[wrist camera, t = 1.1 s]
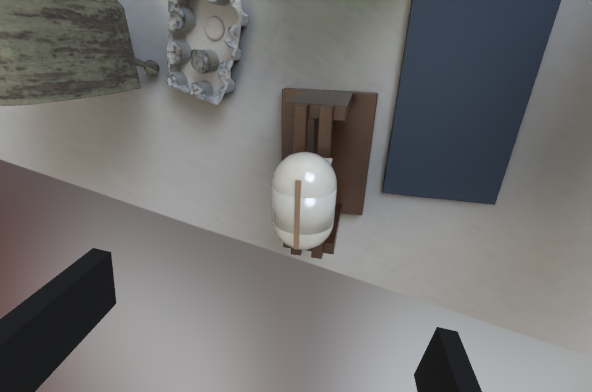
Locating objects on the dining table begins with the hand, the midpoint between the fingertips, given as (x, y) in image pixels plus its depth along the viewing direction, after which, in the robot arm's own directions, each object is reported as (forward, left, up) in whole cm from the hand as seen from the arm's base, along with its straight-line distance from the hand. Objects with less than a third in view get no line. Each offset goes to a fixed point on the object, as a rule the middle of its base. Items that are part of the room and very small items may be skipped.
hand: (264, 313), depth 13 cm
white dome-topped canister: (+1, +1, -16) cm, 16 cm away
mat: (-12, -5, -27) cm, 30 cm away
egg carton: (+14, -10, -27) cm, 32 cm away
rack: (+1, +1, -27) cm, 27 cm away
